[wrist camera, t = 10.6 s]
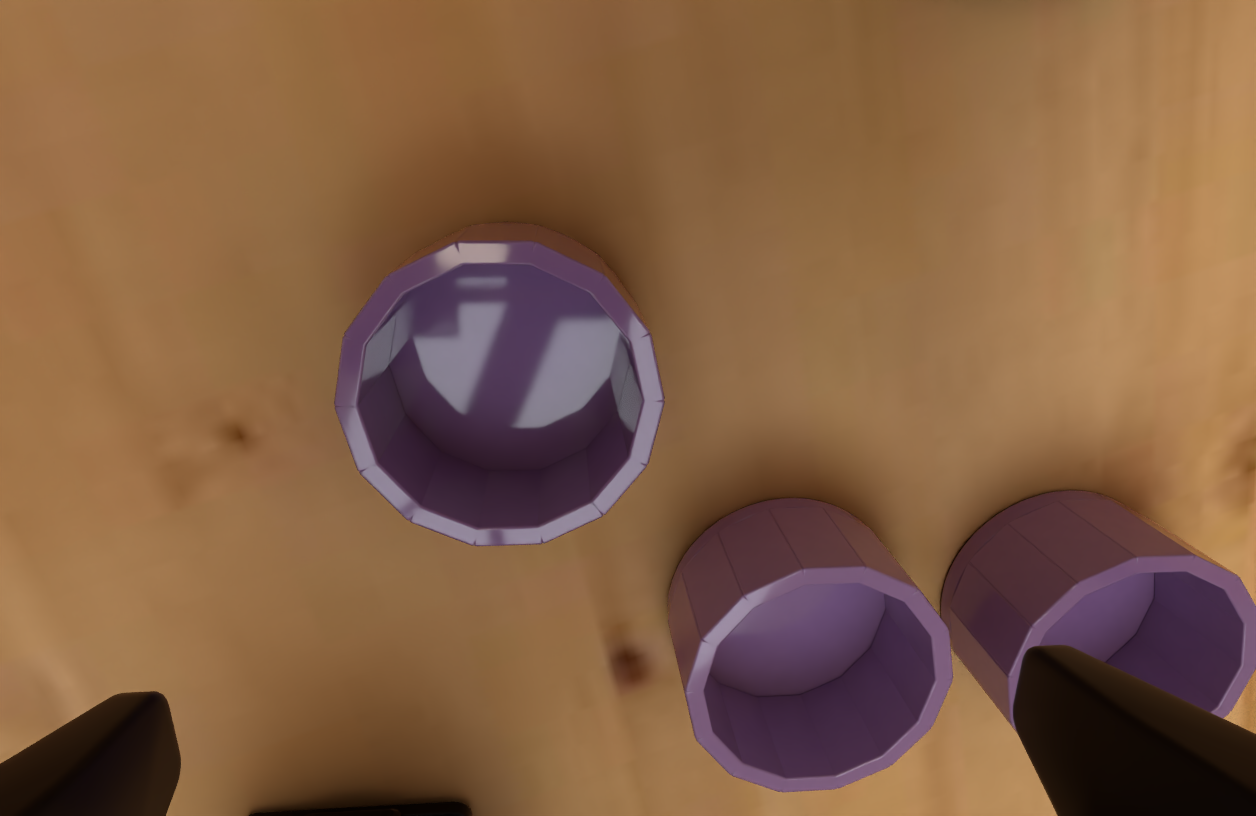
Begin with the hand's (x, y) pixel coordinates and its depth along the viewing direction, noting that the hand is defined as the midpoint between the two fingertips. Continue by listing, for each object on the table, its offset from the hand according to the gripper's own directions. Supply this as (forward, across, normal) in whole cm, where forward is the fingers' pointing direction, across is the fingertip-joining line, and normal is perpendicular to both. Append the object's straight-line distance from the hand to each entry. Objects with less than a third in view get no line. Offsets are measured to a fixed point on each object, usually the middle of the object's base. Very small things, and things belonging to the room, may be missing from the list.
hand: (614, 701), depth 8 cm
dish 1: (+12, +2, -1) cm, 12 cm away
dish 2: (+12, -5, +6) cm, 14 cm away
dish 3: (+12, -13, +7) cm, 19 cm away
